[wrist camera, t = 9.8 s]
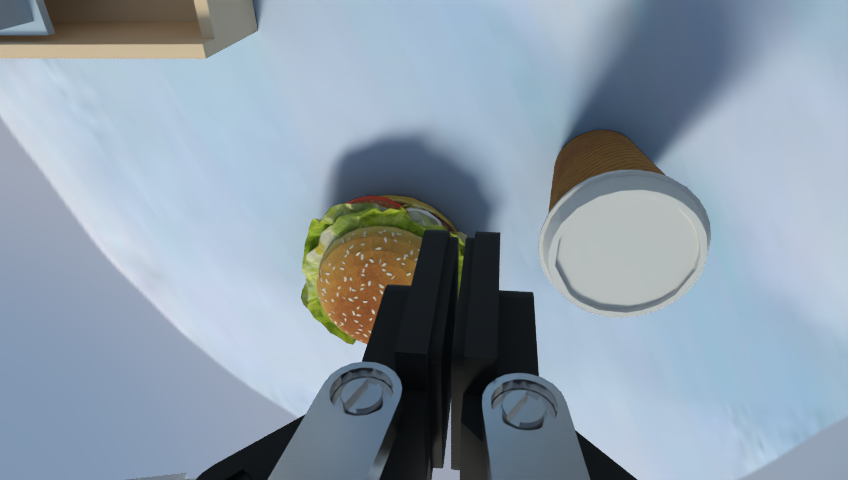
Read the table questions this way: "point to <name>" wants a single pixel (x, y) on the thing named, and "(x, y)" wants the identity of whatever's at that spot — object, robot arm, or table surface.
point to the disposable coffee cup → (620, 229)
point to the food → (365, 258)
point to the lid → (24, 18)
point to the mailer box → (136, 29)
